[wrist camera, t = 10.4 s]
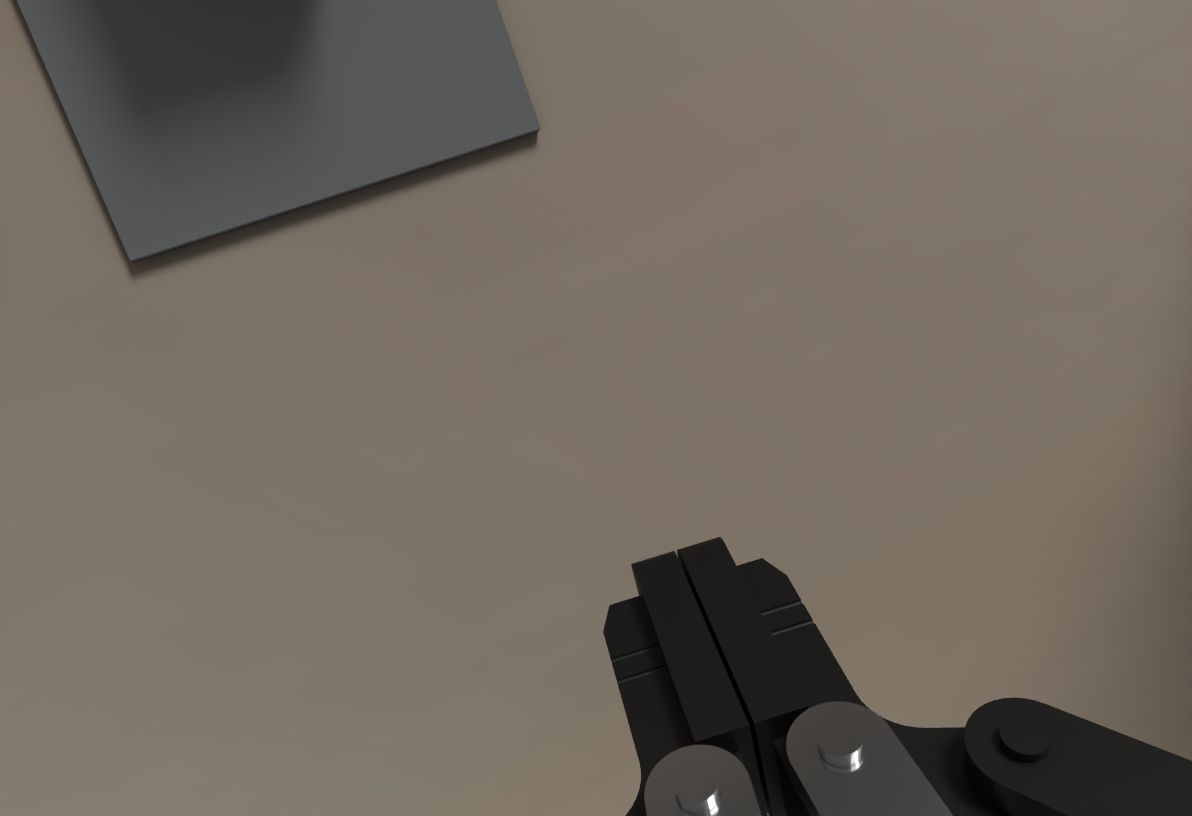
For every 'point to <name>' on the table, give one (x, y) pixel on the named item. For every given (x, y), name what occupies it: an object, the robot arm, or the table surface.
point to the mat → (270, 101)
